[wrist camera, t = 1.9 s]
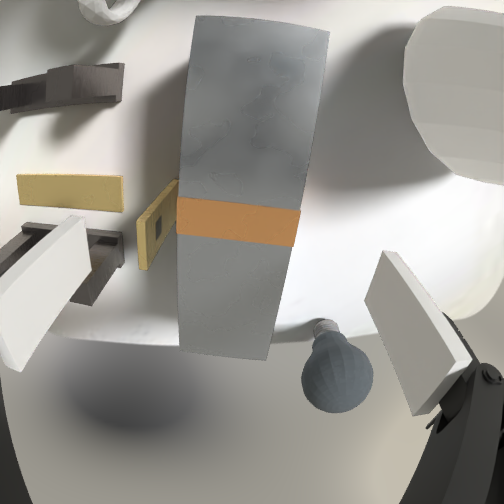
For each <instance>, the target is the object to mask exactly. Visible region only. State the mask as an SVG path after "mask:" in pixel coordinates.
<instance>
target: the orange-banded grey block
mask: <svg viewBox="0 0 504 504" xmlns="http://www.w3.org/2000/svg"><path fill="white" fill-rule="evenodd" d="M329 35H330V32H329V31H325V30H320V29H316V28H311V27H306V26H301V25H295V24H289V23H283V22H276V21H269V20H261V19H252V18H240V17H226V16H196V19H195V25H194V32H193V39H192V45H191V53H190V60H189V68H188V76H187V85H186V94H185V104H184V115H183V126H182V139H181V154H180V171H179V192H178V197H177V218H176V234H177V291H178V324H179V345H180V351H184V352H192V353H198V354H206V355H215V356H223V357H232V358H243V359H254V360H266V358H267V354H268V350H269V346H270V342H271V338H272V334H273V330H274V326H275V321H276V317H277V313H278V309H279V304H280V300H281V296H282V291H283V287H284V283H285V278H286V274H287V269H288V264H289V260H290V255H291V251H292V247H294V242H295V237H296V233H297V228H298V223H299V218H300V213H301V211H300V207H301V202H302V197H303V192H304V187H305V181H306V176H307V171H308V165H309V160H310V155H311V149H312V143H313V138H314V132H315V126H316V120H317V114H318V108H319V102H320V96H321V90H322V83H323V77H324V70H325V63H326V56H327V49H328V42H329Z"/></svg>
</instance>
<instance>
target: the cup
mask: <svg viewBox="0 0 504 504" xmlns="http://www.w3.org/2000/svg"><path fill="white" fill-rule="evenodd" d="M403 87H404V91H405V94H406V98H407V103H408V107H409V111H410V116H411V120H412V122H413V123H414V125H415V127H416V128H417V130H418V132H419V134H420V135H421V137H422V139H423V141H424V142H425V144H426V146H427V148H428V150H429V151H430V152H431V153H432V154H433V155H434V156H435V157H436V158H438V159H439V160H440V161H441V162H442V163H443V164H445V165H446V166H447V167H448V168H449V169H450V170H451V171H452V172H453V173H455V174H456V175H459V176H462V177H466V178H470V179H474V180H477V181H481V182H485V183H491V184H498V185H504V14H503V13H498V12H493V11H487V10H481V9H474V8H465V7H455V6H445V7H442V8H440V9H438V10H436V11H434V12H433V13H431V14H429V15H427V16H426V17H424V18H422V19H421V20H420V21H419V22H418V23H417V25H416V27H415V29H414V31H413V33H412V35H411V37H410V39H409V41H408V43H407V45H406V47H405V53H404V71H403Z"/></svg>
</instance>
